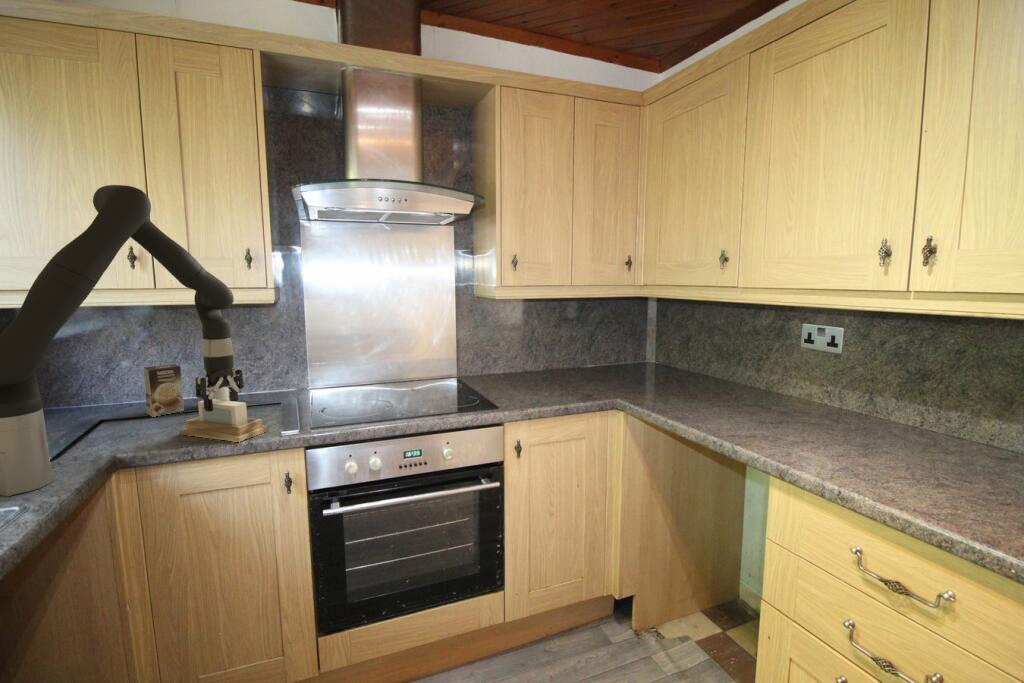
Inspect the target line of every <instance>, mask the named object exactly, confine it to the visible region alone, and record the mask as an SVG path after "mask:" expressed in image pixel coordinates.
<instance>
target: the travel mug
mask: <svg viewBox="0 0 1024 683" xmlns="http://www.w3.org/2000/svg"><path fill="white" fill-rule="evenodd" d="M207 383H208V382H207ZM210 388H212V387H210ZM229 392H230V390H229V389H228V388H227V387H222V388H220V389H218V390H217V391H216V392H215V393H214V395H213V397H212V398H211V399H217V400H226V401H230V395H229ZM208 394H209V393H208Z"/></svg>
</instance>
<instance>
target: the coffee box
mask: <svg viewBox="0 0 1024 683" xmlns="http://www.w3.org/2000/svg"><path fill="white" fill-rule="evenodd" d="M181 370H182V368H181V365H178V364H173V363H172V364H165V365H156V366H146V367H145V366H144V367H143V378H144V390H145V401H146V412H147V415H148V414H149V417H152V418H156V416H158V417H162V416H161V415H164V416H167V415H166V414H169V415H172V414H171V413H175V414H177V413H176V412H180V413H182V412H181V411H184V412H185V408H184V407H185V406H184V395H183V385H182V384H183V382H182V371H181Z"/></svg>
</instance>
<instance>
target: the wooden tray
mask: <svg viewBox="0 0 1024 683" xmlns="http://www.w3.org/2000/svg"><path fill="white" fill-rule="evenodd" d="M247 422H248V423H247V424H244V425H242V426H234V425H226V424H218V423H210V422H202V421H200V419H199V416H197V417H193V418H190V419H188V420H185V426H186V427H184V428H182V429H179V435H180V434H181V435H180V436H183V435H188V436H187V437H190V436H197V437H205V438H214V439H224V440H232V441H236V442H239V443H238V444H241V443H240V441H242V440H245V439H247V438H251V437H253V438H255V437H254V436H256V435H258V436H260V435H262V434H261V433H263V434H265V433H268V432H269V431H270V428H269V426H268V425H263V424H262V423H263V421H262V419H261V418H252V417H247ZM267 431H268V432H267ZM264 432H265V433H264ZM259 434H260V435H259ZM197 437H196V438H197ZM256 437H257V436H256ZM205 438H204V439H205ZM251 439H252V438H251Z"/></svg>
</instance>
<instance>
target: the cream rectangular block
mask: <svg viewBox="0 0 1024 683" xmlns="http://www.w3.org/2000/svg"><path fill="white" fill-rule="evenodd" d="M197 408H198V417H199V419H200V421H202V422H210V423H218V424H226V425H234V426H242V425H244V424H247V423H248V422H247V418H248V411H247V402H243V401H242V402H240V401H238V402H235V401H230V400H229V401H226V400H217V399H213V411H211V412H208V411H206V410H205V409H204V401H203V400H200V401H197Z"/></svg>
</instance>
